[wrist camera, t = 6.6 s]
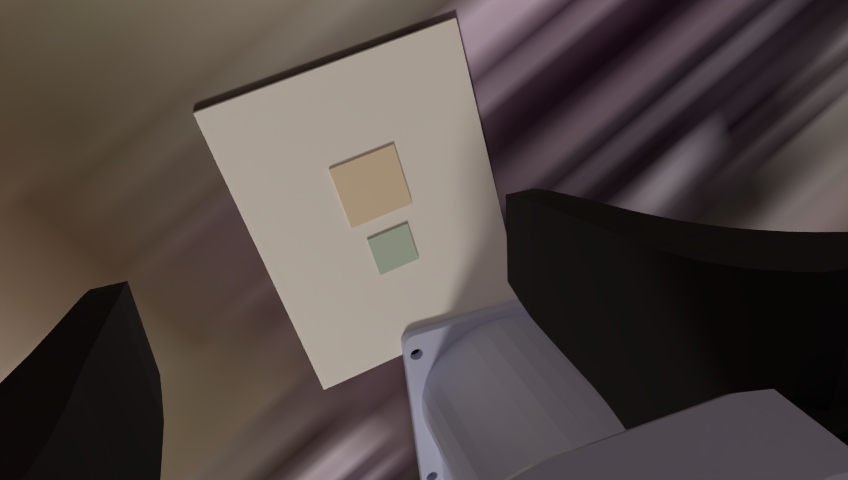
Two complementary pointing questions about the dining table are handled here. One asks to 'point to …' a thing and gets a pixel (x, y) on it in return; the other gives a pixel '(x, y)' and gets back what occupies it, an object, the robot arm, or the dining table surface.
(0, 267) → the dining table surface
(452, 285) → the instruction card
